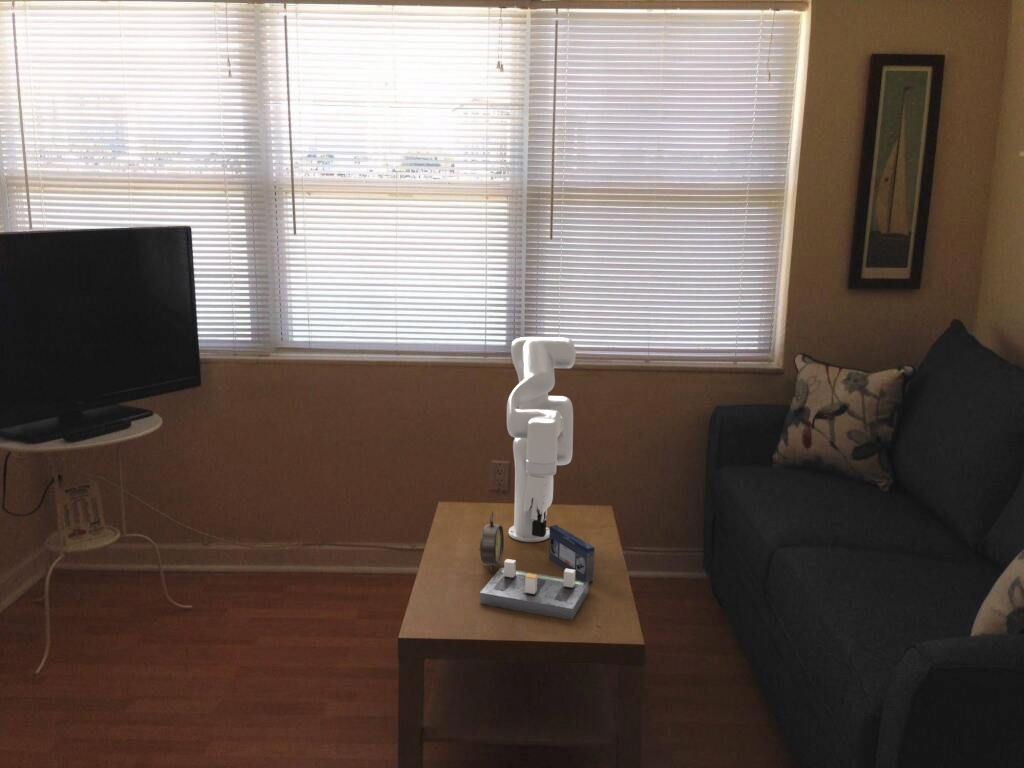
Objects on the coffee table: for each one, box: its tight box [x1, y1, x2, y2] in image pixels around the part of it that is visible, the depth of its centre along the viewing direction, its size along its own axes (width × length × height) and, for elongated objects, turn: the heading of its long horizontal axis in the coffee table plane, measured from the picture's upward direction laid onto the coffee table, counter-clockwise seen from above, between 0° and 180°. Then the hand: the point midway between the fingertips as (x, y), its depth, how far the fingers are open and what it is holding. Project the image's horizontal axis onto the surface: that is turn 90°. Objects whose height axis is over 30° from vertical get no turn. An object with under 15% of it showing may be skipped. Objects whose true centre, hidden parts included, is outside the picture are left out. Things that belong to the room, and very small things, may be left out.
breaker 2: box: [563, 568, 576, 588], centre depth 232 cm, size 2×2×4 cm
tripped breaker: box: [525, 573, 537, 594], centre depth 228 cm, size 2×2×4 cm
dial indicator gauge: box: [478, 510, 505, 574], centre depth 248 cm, size 11×5×16 cm, turn 168°
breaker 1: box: [503, 558, 517, 578], centre depth 237 cm, size 2×2×4 cm
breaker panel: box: [479, 567, 590, 621], centre depth 232 cm, size 16×24×3 cm, turn 71°
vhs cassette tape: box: [548, 524, 595, 583], centre depth 248 cm, size 18×3×10 cm, turn 29°
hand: (538, 535), depth 231 cm, fingers closed
